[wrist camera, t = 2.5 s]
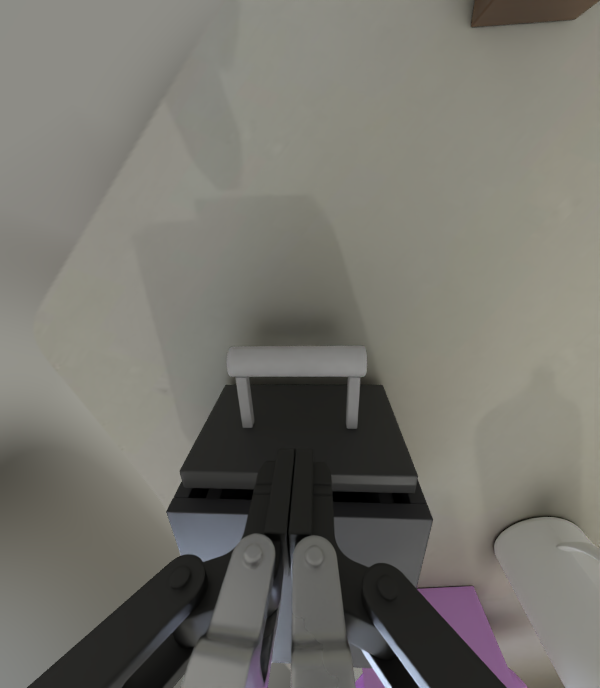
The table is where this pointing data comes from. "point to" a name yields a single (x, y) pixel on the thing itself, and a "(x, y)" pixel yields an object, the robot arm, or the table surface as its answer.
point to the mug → (557, 592)
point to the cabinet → (350, 533)
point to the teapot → (461, 633)
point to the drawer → (301, 426)
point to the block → (527, 11)
